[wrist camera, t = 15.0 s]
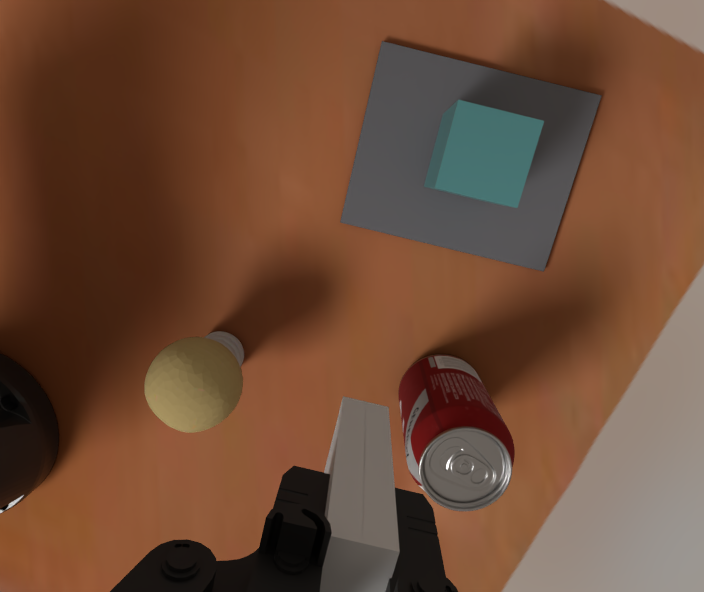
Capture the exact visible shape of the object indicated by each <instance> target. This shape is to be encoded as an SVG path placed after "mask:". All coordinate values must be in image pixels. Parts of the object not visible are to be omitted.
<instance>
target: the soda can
mask: <svg viewBox="0 0 704 592" xmlns="http://www.w3.org/2000/svg"><path fill="white" fill-rule="evenodd" d="M399 404H400V411H401V419H402V427H403V435H404V443H405V451H406V459H407V464H408V468H409V471H410V473H411V475H412V477H413V479H414V480H415V482H416V483H417V484H418V485H419V486H420V487H421V488H422V489H423V490H424V491H425V492H426V493H427V494H428V496H429V497H430V498H431V499H432V500H433V501H435V502H436V503H437V504H439V505H441V506H443V507H445V508H448V509H451V510H455V511H473V510H478V509H481V508H484V507H486V506H488V505H490V504H492V503H493V502H495V501H496V500H497V499H498V498H499V497H500V496H501V495H502V494H503V493H504V492H505V490H506V488H507V487H508V485H509V482H510V479H511V475H512V466H513V462H514V444H513V440H512V437H511V434H510V432H509V430H508V428H507V426H506V425H505V423H504V421H503V419H502V417H501V416H500V414H499V412H498V410H497V408H496V406H495V405H494V403H493V401H492V399H491V397H490V396H489V394H488V392H487V390H486V388H485V386H484V385H483V383H482V381H481V379H480V377H479V376H478V374H477V372H476V371H475V369H474V368H473V367H472V366H471V365H470V364H469V363H467V362H466V361H464V360H463V359H461V358H458V357H456V356H452V355H447V354H436V355H430V356H427V357H424V358H422V359H420V360H418V361H417V362H415V363H414V364H413V365H412V366H411V367H410V368H409V369H408V370H407V371H406V372H405V374H404V376H403V378H402V380H401V382H400V386H399Z"/></svg>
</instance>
